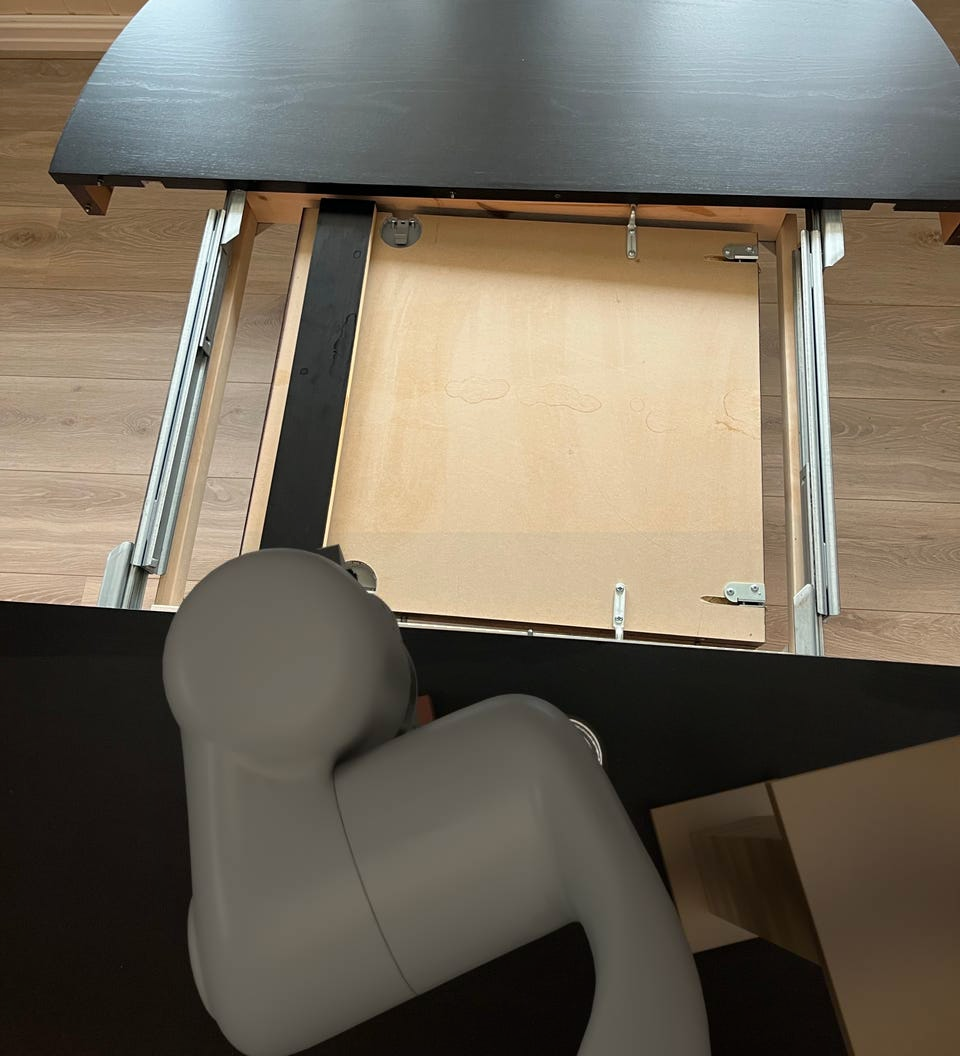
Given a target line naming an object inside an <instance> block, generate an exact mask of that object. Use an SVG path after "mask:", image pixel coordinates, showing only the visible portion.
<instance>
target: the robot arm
mask: <svg viewBox="0 0 960 1056" xmlns="http://www.w3.org/2000/svg"><path fill="white" fill-rule="evenodd" d="M358 579H359V578H358V574H357V572H354V570H353V569H352V568H347V563H346V560H345V557H344V554H343V551H342V548H341V546H340V543H336V544H332V545H328V546H323V547H319V548H316V553H314V552H312V551H308V550H304V549H298V548H293V547H272V548H270V547H269V548H262V549H258V550H255V551H250V552H245V553H243V554H240V555H238V556H236V557H233V558H231V559H228V560H227V561H225V562H223V563H222V564H220V565H218V566H217V567H215V568H213V569H212V570H211V571H210V572H208V573H207V574H206V575H205V576H204V577H202V578H201V580H199V581H198V582H197V583H196V584H195V585H194V586H193V587H192V588H191V590H190V592H188V594H187V595H186V596H185V598H184V599H183V600H182V602H181V603H180V605H179V607H178V608H177V611H176V613H175V615H174V616H173V618H172V620H171V623H170V626H169V629H168V631H167V633H166V637H165V641H164V647H163V648H164V649H163V652H162V653H163V654H162V682H163V688H164V692H165V697H166V701H167V703H168V705H169V708H170V711H171V714H172V716H173V718H174V720H175V722H176V723H177V725H178V727H179V729H180V730H179V731H180V739H181V747H182V757H183V758H182V759H183V768H184V769H183V770H184V781H185V794H186V807H187V818H188V819H187V820H188V835H189V836H188V839H189V853H190V854H189V855H190V872H191V890H192V891H191V892H192V896H191V899H190V901H189V906H188V914H187V947H188V954H189V962H190V967H191V971H192V975H193V980H194V983H195V986H196V989H197V991H198V994H199V997H200V999H201V1001H202V1004H203V1006H204V1008H205V1010H206V1011H207V1012H208V1014H209V1015H210V1017H212V1019H214V1020H215V1022H216V1024H217V1025H218V1027H219V1030H220V1031H221V1033H222V1034H223V1036H224V1037H225V1038H226V1040H227V1041H228V1042H229V1044H231V1045H232V1046H233V1047H234V1048H235V1049H236V1050H237V1051H239V1052H240V1053H242V1054H243V1055H245V1056H291V1055H295V1054H297V1053H299V1052H302V1051H306V1050H307V1049H310V1048H312V1047H314V1046H316V1045H318V1044H321V1043H323V1042H325V1041H327V1040H329V1039H331V1038H334V1037H335V1036H337V1035H339V1034H342V1033H344V1032H346V1031H347V1030H349V1029H352V1028H355V1027H356V1026H357V1025H360V1024H362V1023H364V1022H366V1021H368V1020H370V1019H373V1018H374V1017H377V1016H378V1015H380V1014H383V1013H386V1011H389V1010H391V1009H394V1008H395V1007H397V1006H400V1005H401V1004H403V1003H406V1002H407V1001H409V1000H411V999H414V998H416V997H418V996H421V995H423V994H425V993H427V992H429V991H431V990H433V989H435V988H437V987H439V986H441V985H443V984H445V983H447V982H449V981H451V980H453V979H455V978H457V977H459V976H461V975H464V974H465V973H468V972H470V971H472V970H475V969H476V968H478V967H480V966H482V965H485V964H486V963H489V962H491V961H493V960H496V959H497V958H500V957H501V956H504V955H506V954H508V953H510V952H512V951H514V950H516V949H518V948H521V947H523V946H525V945H528V944H530V943H532V942H534V941H537V940H539V939H541V938H543V937H545V936H547V935H549V934H551V933H553V932H555V931H557V930H559V929H561V928H564V927H565V926H567V925H568V924H571V923H576V922H577V923H579V924H581V926H582V928H583V930H584V932H585V935H586V937H587V941H588V943H589V946H590V950H591V954H592V957H593V965H594V971H595V986H594V987H595V989H594V996H593V1001H592V1008H591V1012H590V1016H589V1020H588V1023H587V1026H586V1029H585V1032H584V1035H583V1037H582V1040H581V1042H580V1045H579V1048H578V1052H577V1054H576V1056H712V1051H711V1040H710V1029H709V1021H708V1013H707V1010H706V1009H707V1008H706V1003H705V998H704V994H703V988H702V983H701V979H700V975H699V971H698V968H697V966H696V965H697V964H696V961H695V958H694V954H692V951H691V948H690V945H689V942H688V940H687V937H686V934H685V932H684V929H683V926H682V924H681V921H680V919H679V917H678V914H677V912H676V909H675V905H674V901H673V899H672V898H671V896H670V894H669V892H668V890H667V888H666V886H665V884H664V881H663V879H662V878H661V876H660V874H659V871H658V869H657V868H656V866H655V863H654V862H653V860H652V858H651V856H650V855H649V852H648V851H647V849H646V847H645V846H644V843H643V841H642V839H641V837H640V836H639V833H638V831H637V830H636V828H635V826H634V824H633V822H632V820H631V818H630V817H629V814H628V813H627V810H626V808H625V806H624V805H623V803H622V801H621V799H620V797H619V795H618V793H617V791H616V790H615V787H614V785H613V784H612V782H611V780H610V778H609V776H608V774H606V773H605V771H604V769H603V767H602V765H601V764H600V762H599V760H598V758H597V756H596V755H595V753H594V752H593V750H592V749H591V747H590V746H589V744H588V743H587V741H586V740H585V738H584V737H583V735H582V734H581V732H580V731H579V729H578V728H577V727H576V726H575V725H574V724H573V722H572V721H571V720H570V719H569V718H568V717H567V716H566V715H565V714H564V713H565V712H563V711H562V710H561V709H559V708H558V707H557V706H556V705H554V704H552V703H550V702H549V701H547V700H545V699H543V698H540V697H538V696H534V695H529V694H524V693H507V694H501V695H500V694H499V695H496V696H493V697H489V698H486V699H483V700H480V701H478V702H476V703H473V704H470V705H468V706H465V707H463V708H460V709H458V710H455V711H453V712H450V713H449V714H447V715H446V714H445V715H444V716H441V717H438V718H436V720H435V721H432V722H430V723H428V724H426V725H423V726H421V727H420V725H419V720H418V715H417V710H416V706H417V699H418V697H419V696H418V691H419V689H418V685H419V683H418V676H417V672H416V668H415V665H414V661H413V659H412V657H411V655H410V653H409V651H408V649H407V647H406V645H405V644H404V641H403V637H402V634H401V630H400V626H399V622H398V619H397V617H396V615H395V613H394V611H392V609H391V607H390V606H389V605H388V604H387V603H386V602H385V601H384V600H383V599H382V598H381V597H379V596H378V595H376V594H374V593H370V592H369V591H368V590H366V587H364V585H362V583H360V582H359V580H358Z"/></svg>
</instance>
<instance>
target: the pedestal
mask: <svg viewBox="0 0 960 1056" xmlns="http://www.w3.org/2000/svg"><path fill="white" fill-rule="evenodd" d="M649 815H650V819H651V822H652V826H653V830H654V833H655V837H656V840H657V841H656V842H657V844H658V849H659V852H660V857H661V859H662V864H663V868H664V871H665V874H666V879H667V882H668V885H669V891H670V893H671V897H672V902H673V904H674V906H675V909H676V912H677V914H678V917H679V919H680V921H681V924H682V926H683V929H684V932H685V934H686V937H687V940H688V942H689V945H690V948H691V951H692V954H693V955H694V954H697V953H701V952H702V953H703V952H705V951H709V950H713V949H718V948H721V947H727V946H729V945H734V944H737V943H741V942H745V941H750V940H753V939H757V938H761V939H762V940H765V941H767V942H769V943H771V944H774V945H776V946H778V947H780V948H782V949H783V950H786V951H788V952H790V953H792V954H794V955H796V956H798V957H800V958H803V959H805V960H807V961H809V962H810V963H813V964H815V965H817V966H819V967H820V968H821V971H822V975H823V978H824V981H825V984H826V987H827V991H828V994H829V997H830V1001H831V1004H832V1007H833V1010H834V1014H835V1017H836V1020H837V1023H838V1027H839V1030H840V1033H841V1037H842V1040H843V1043H844V1046H845V1049H846V1053H847V1056H960V734H958V735H954V736H950V737H946V738H941V739H937V740H934V741H930V742H926V743H922V744H917V745H914V746H913V745H912V746H909V747H906V748H905V747H904V748H901V749H897V750H892V751H888V752H885V753H884V752H883V753H881V754H877V755H872V756H868V757H865V758H860V759H856V760H852V761H848V762H843V763H839V764H836V765H831V766H827V767H824V768H820V769H814V770H810V771H807V772H802V773H799V774H794V775H791V776H786V777H782V778H779V777H777V778H772V779H768V780H763V781H760V782H759V781H758V782H756V783H752V784H746V785H743V786H740V787H736V788H731V789H727V790H724V791H723V790H722V791H718V792H715V793H711V794H707V795H702V796H698V797H695V798H690V799H686V800H682V801H678V802H674V803H669V804H665V805H662V806H661V805H660V806H657V807H654V808H649Z"/></svg>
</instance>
